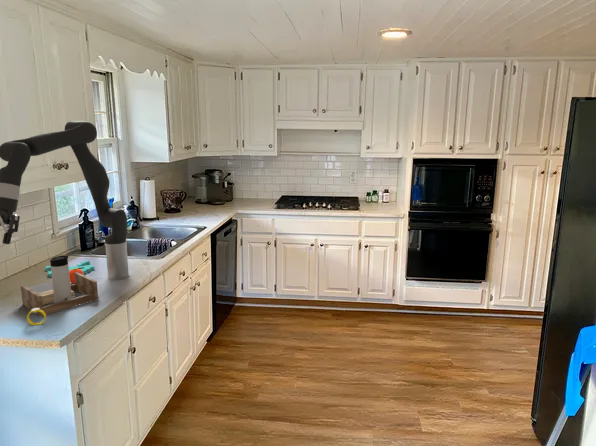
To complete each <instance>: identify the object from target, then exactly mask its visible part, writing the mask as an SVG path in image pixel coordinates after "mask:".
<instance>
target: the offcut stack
mask: <svg viewBox="0 0 596 446" xmlns="http://www.w3.org/2000/svg"><path fill="white" fill-rule="evenodd" d="M38 294H40V295H41V296H42V303H43V306H44V305H47V304H51V302H52V303H55V301H54V292H53V290H49V291H45V292H41V293H38ZM71 295H72V298H74V297H73V296H75V297H76V294H75V291H72V290H71Z"/></svg>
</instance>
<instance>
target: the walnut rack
mask: <svg viewBox="0 0 596 446" xmlns="http://www.w3.org/2000/svg"><path fill="white" fill-rule="evenodd" d="M75 283H76V284H73V283H71V284H70V285H71V290H72V291H74V292H79V293H82V294H83V295H80V296H75V297H72V299H69V300H66V301H62V302H58V303H55V302H54V303H52V304H51V303H50V304H49V305H45V306H44V305H43V303H42V296H41V295H40V294H38V293H36V292H35V291H33V290H31V289H30V288H28V287H29V286H27V285H24V284H21V285H20V293H21V300H22V305H23V306H25V307H26V308H28V309H29V310H30V311H31V310H32V309H34V308H40V310H43V311H44V312H45V313H46V316H47V315H50V314H54V313H56V312H61V311H64V310H67V309H70V307H71V308H74V307H76V305H77V306H80V305H79V304H81V305H83V304H84V305H85V304H87V302H88V303H90V301H91V302H93V301H97V300H99V291H98V282H97V280H95V279H93V278H90V277H89V276H86V275H85V274H84V275H82V274H80V273H78V272H76V273H75ZM73 306H74V307H73ZM34 313H35V314H36V315H38V317H39V316H40V317H42V316H43V317H44V315H43V314H42V313H41V312H34Z"/></svg>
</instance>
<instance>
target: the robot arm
mask: <svg viewBox="0 0 596 446" xmlns="http://www.w3.org/2000/svg"><path fill="white" fill-rule="evenodd" d="M97 136H98V131H97V128H96V126H95V125H94V124H93V123H92V122H89V121H86V120H71V121H68V122H66V124H65V125H64V130H60V131H52V132H46V133H41V134H38V135H34V136H30V137H28V138H21V139H16V140H15V139H14V140H10V141H6V142H3V143H1V144H0V159H1V160H3V161H5V162H7V164H6V166H3V167H1V168H0V227H2V228H3V231H4V232H3V233H4V234H3V238H2V244H4V245H10V244H11V241H12V236H13V234H14V233H17V232H19V225H20V219H21V216H20V215H19V214H14V213H17V209H18V205H19V200H20V199H19V198H20V193H21V183H22V178H23V174H24V173H25V171H26V169H27V167H28V166H29V165H28V164H29V163H30V160H31V158H32V157H36V156H37V157H38V156H41V155H44V154H47V153H50V152H53V151H56V150H61V149H63V148H67V147H70V148H71V149H72V152H73V153H74V156H75V157H76V159H77V163H78V164H79V167H80V169H81V172H82V174H83V177H84V179H85V183H86V185H87V187H88V189H89V192H90V194H91V198H92V200H93V202H94V207H95V210H96V215H97V218H98V220H99V223H100V224H101V226H102V227H104V228H109V229H111V234H107V235H106V236H105V237H104V242H105V243H104V244H105V254H106V264H107V265H106V270H107V278H108V279H110V280H122V279H123V280H124V279H126V278H128V277H129V261H128V259H129V258H128V248H127V235H128V216H127V213H126V211H125V210H124V209H121V208H112V207H111V205H110V203H109V200H108V193H109V191H110V190H109V189H110V178H109V176H108V173H107V170H106V168H105V167H104V165H103V164H102V162H101V161H100V160H98V158H97V157H96V156H95V155H94V153H92V151H91V150H90V149H89V145H88V144H91V143H93V142H94V141H95V140H96V138H97Z"/></svg>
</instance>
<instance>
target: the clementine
mask: <svg viewBox="0 0 596 446" xmlns="http://www.w3.org/2000/svg"><path fill="white" fill-rule="evenodd" d="M76 272H78V273H80V274H82V275H84V276H85V274H84V273H83V271H82V270H80V269H77V268H73V269H72V270H70V271H69V276H70V284H76V283H75V273H76Z"/></svg>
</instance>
